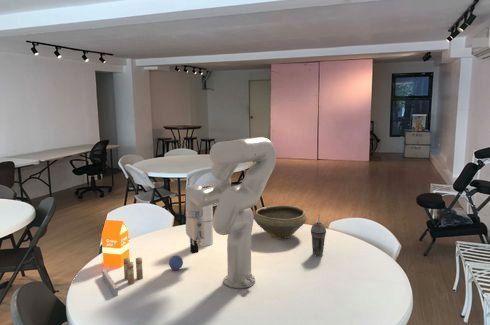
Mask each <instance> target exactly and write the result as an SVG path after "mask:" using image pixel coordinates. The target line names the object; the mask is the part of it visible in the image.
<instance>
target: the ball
mask: <svg viewBox="0 0 490 325" xmlns="http://www.w3.org/2000/svg"><path fill="white" fill-rule="evenodd" d="M183 264H184V261H183V258H182V257H181V256H180V255H173V256H171V257H170V259H169V261H168V265H169V267H170V269H172V270H175V271H178V270H179V269H181V268H182V266H184V265H183Z"/></svg>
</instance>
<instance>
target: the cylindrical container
mask: <svg viewBox="0 0 490 325" xmlns="http://www.w3.org/2000/svg"><path fill="white" fill-rule="evenodd" d="M213 215H214V213H213V204H212V205H209V206H206V207H203V222H204V239H201V238H200V239H201V243H199V244H198V245H200V246H203V247H208V246H209V247H210V246H212V245H213V244H214V228H213V224H212V220H213Z"/></svg>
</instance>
